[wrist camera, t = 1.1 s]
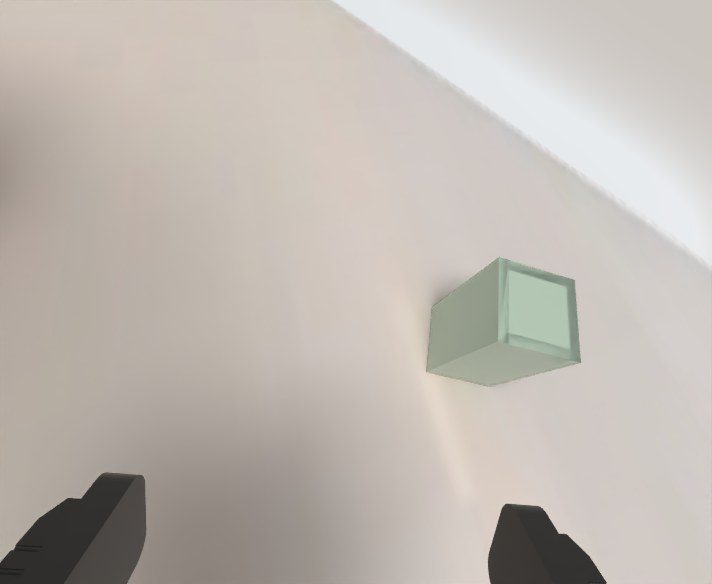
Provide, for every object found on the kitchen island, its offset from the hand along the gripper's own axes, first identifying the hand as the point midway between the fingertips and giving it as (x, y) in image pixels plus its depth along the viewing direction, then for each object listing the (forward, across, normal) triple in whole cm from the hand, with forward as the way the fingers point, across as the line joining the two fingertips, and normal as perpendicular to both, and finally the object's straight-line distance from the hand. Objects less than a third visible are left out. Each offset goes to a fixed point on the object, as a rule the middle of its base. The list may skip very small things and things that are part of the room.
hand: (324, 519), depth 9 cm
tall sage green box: (+27, -13, +7) cm, 31 cm away
